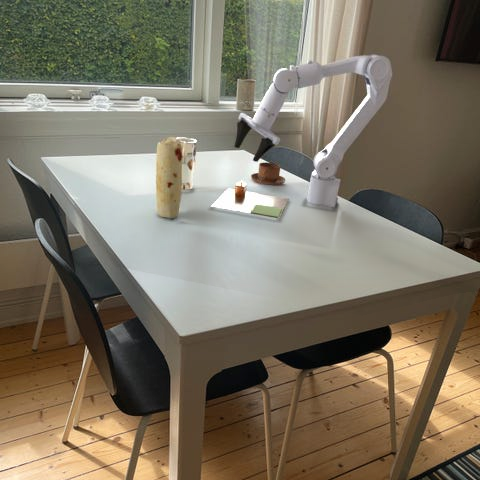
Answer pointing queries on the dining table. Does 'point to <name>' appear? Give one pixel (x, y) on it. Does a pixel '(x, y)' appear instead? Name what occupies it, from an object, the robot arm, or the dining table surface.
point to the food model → (169, 177)
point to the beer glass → (188, 161)
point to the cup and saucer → (268, 174)
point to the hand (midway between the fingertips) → (245, 154)
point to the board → (248, 201)
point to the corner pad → (266, 210)
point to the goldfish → (240, 188)
